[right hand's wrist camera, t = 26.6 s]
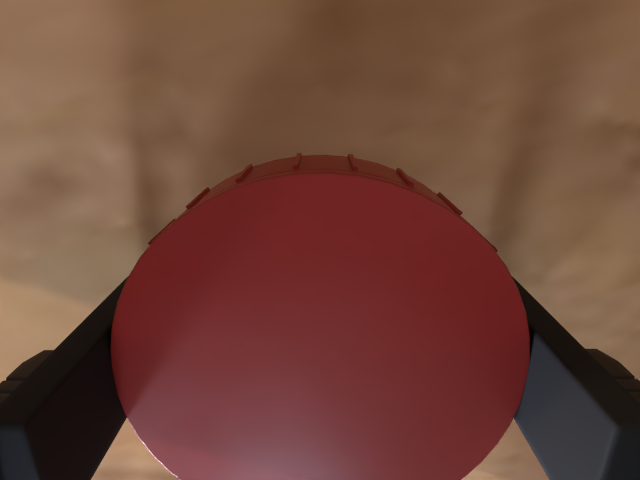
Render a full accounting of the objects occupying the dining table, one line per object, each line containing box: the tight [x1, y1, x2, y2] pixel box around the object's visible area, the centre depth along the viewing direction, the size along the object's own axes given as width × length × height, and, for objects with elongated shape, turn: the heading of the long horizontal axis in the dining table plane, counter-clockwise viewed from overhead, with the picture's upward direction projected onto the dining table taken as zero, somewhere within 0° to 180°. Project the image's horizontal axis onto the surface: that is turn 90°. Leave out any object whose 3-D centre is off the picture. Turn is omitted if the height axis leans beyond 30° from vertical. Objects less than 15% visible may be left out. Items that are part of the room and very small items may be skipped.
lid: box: [110, 153, 530, 480], centre depth 11 cm, size 10×10×2 cm
